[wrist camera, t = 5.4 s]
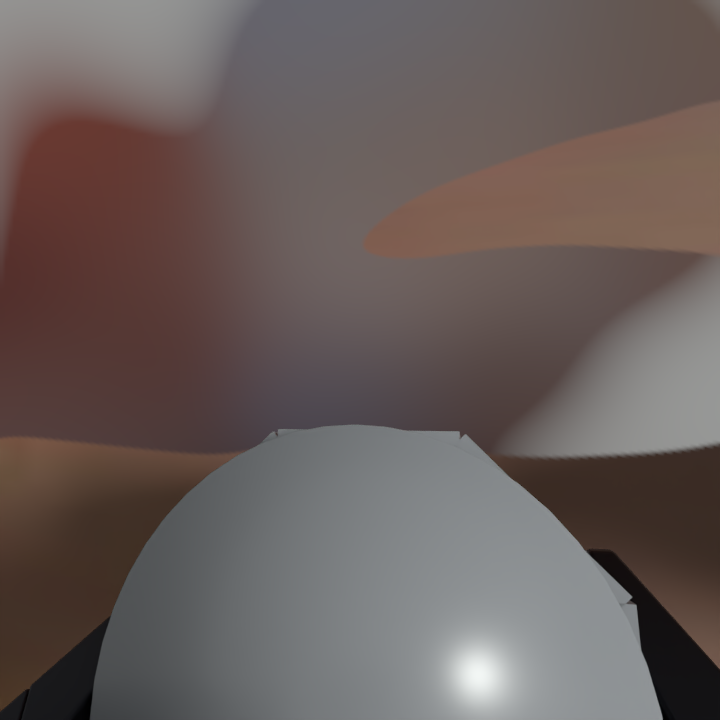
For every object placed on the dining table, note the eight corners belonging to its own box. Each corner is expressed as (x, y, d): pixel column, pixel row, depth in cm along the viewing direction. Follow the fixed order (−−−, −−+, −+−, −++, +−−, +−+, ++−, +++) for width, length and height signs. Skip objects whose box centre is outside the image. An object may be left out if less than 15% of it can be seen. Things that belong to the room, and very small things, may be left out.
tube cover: (422, 766, 14) (316, 1344, 4) (276, 568, 16) (8, 665, 7) (592, 594, 14) (838, 790, 5) (424, 424, 16) (360, 326, 7)
